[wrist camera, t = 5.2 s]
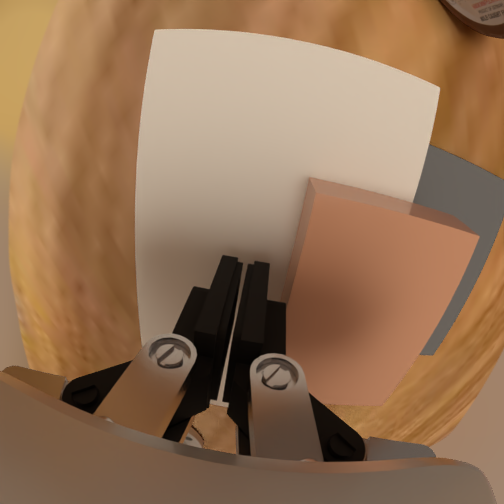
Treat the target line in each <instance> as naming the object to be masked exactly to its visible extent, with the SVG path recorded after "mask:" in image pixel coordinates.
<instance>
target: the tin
mask: <svg viewBox="0 0 504 504" xmlns="http://www.w3.org/2000/svg"><path fill="white" fill-rule="evenodd" d="M440 1H441V2H442V3H443V4H444V5H445V6H446V7H447V8H448V9H449V10H450V11H451V12H452V13H453V14H454V15H455V16H456V17H457V18H458V19H459V20H460V21H462V22H463V23H464V24H466V25H467V26H469V27H470V28H472V29H473V30H475V31H477V32H479V33H481V34H484V35H486V36H490V37H495V38H502V39H504V0H440Z"/></svg>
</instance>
